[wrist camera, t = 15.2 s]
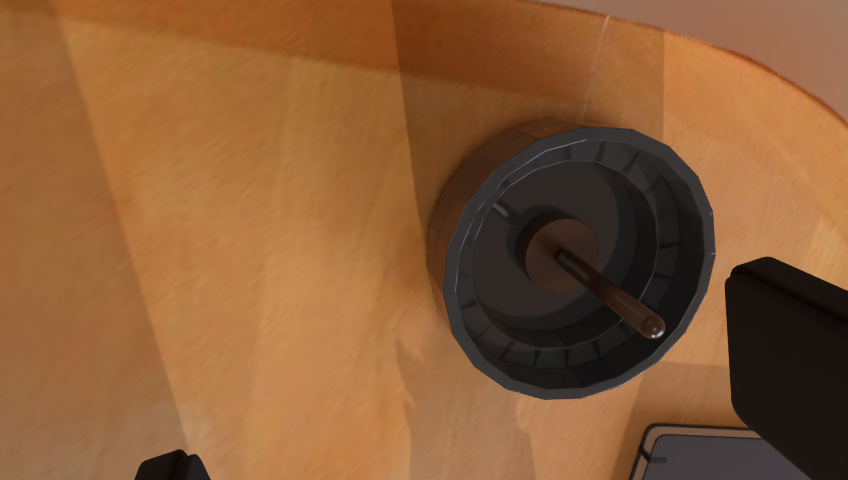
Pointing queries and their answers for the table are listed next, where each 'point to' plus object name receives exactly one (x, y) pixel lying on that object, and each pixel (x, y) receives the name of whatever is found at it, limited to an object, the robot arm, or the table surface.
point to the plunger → (576, 267)
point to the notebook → (709, 455)
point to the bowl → (618, 261)
